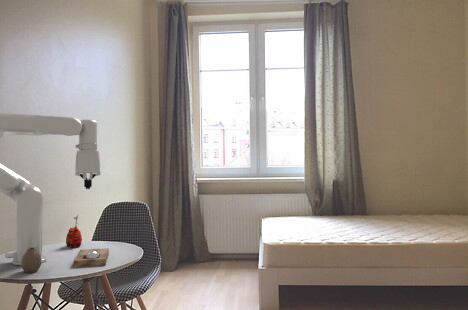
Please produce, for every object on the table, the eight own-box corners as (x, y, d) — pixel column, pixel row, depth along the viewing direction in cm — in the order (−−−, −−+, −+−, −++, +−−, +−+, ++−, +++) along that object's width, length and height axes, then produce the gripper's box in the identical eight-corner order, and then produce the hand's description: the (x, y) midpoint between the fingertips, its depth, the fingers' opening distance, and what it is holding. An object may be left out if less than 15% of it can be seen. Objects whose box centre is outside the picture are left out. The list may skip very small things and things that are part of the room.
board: (74, 267, 159) (74, 260, 159) (80, 255, 177) (80, 249, 177) (105, 265, 162) (105, 258, 162) (108, 253, 180) (108, 248, 180)
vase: (33, 274, 150) (33, 251, 150) (17, 273, 151) (17, 249, 151) (45, 269, 157) (45, 246, 157) (29, 267, 158) (29, 245, 158)
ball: (82, 257, 165) (90, 265, 167) (85, 258, 161) (94, 266, 163) (90, 247, 167) (99, 255, 169) (94, 248, 163) (103, 256, 165)
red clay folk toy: (62, 247, 192) (62, 215, 192) (74, 244, 198) (74, 213, 198) (74, 248, 188) (74, 217, 188) (85, 245, 195) (85, 214, 194)
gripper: (68, 147, 174) (68, 189, 174) (105, 147, 177) (104, 189, 177) (71, 147, 181) (71, 188, 181) (106, 147, 184) (106, 187, 185)
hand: (88, 188), depth 179 cm, fingers closed
